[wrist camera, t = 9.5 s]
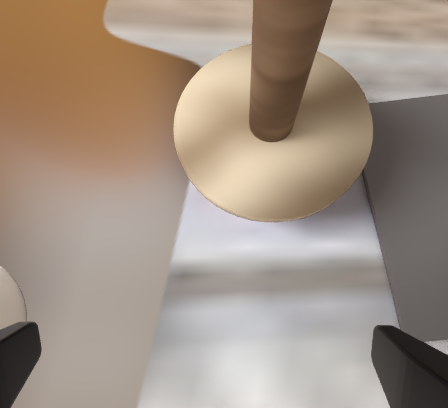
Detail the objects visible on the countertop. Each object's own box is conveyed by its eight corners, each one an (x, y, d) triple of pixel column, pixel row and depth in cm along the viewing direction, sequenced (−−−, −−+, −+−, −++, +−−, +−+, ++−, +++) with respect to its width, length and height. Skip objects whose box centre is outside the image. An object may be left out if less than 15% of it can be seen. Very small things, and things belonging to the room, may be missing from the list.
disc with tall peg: (407, 154, 18) (722, -99, 6) (242, 261, 16) (240, 201, 5) (291, 26, 21) (353, -307, 9) (145, 109, 20) (4, -149, 8)
